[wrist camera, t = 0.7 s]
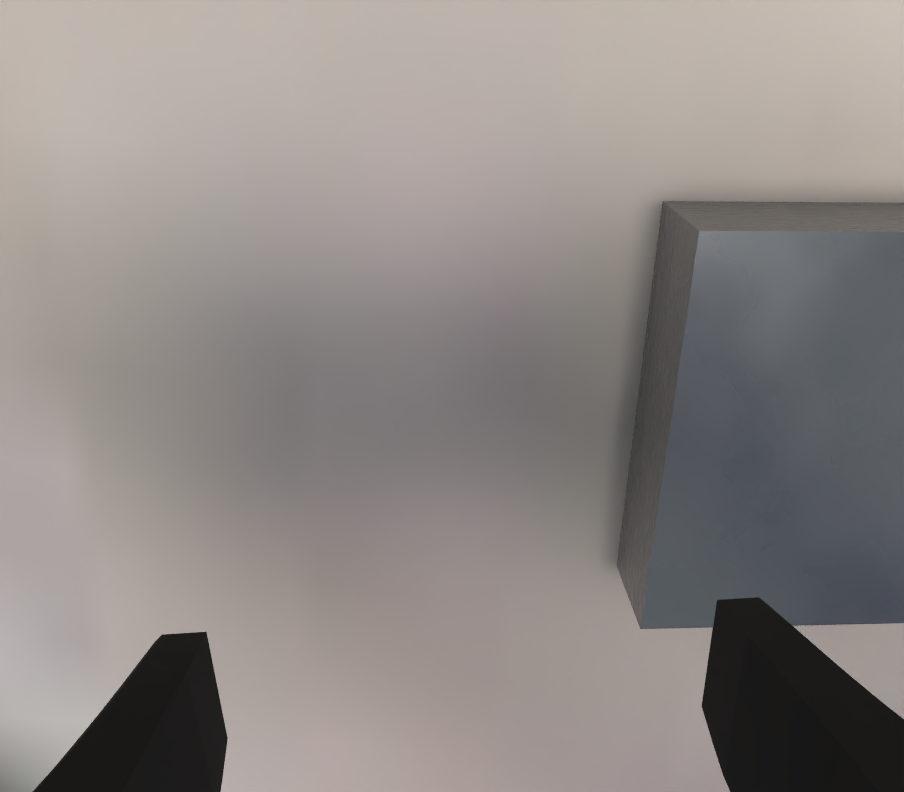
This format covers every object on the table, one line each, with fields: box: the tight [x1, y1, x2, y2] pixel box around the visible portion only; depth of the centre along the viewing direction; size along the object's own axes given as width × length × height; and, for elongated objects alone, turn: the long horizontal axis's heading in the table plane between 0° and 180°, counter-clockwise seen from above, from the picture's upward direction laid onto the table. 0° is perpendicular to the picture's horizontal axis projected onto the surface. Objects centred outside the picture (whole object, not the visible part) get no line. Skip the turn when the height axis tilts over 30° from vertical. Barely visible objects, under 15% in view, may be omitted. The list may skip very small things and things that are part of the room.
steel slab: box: [617, 201, 904, 629], centre depth 20 cm, size 10×10×3 cm
